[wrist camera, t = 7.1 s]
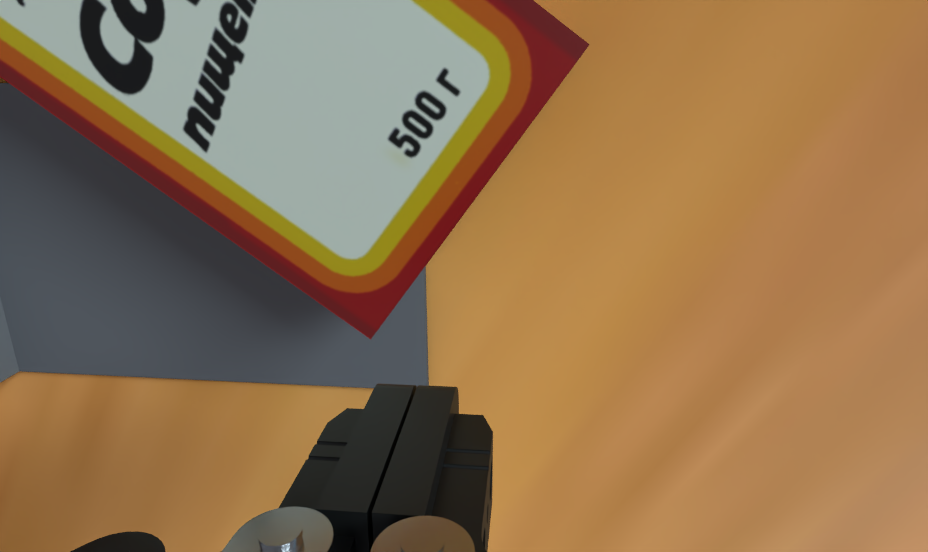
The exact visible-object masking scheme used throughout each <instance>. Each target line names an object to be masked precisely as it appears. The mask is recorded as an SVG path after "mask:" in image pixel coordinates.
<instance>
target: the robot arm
mask: <svg viewBox="0 0 928 552" xmlns="http://www.w3.org/2000/svg"><path fill="white" fill-rule="evenodd" d="M492 459H493V431H492V430H491V428H490V426H489V425H488V423H487V421H486V419H485V418H484V416H483V415H469V414H459V399H458V388H457V387H445V386H424V385H418V387H417V386H416V385H400V384H379V383H378V384H377V385H376V386H375V388H374V390H373V392H372V394H371V396H370V398H369V400H368V402H367V404H366V406H365V408H364V409H349V408H347V409H346V410H344V411H343V412H342V413H340V414H339V415H338V416H336V417H335V418H334V419H332V420H331V421H330V422H328V423H327V425H326V427H325V428H324V430H323V432H322V433H321V435H320V437H319V439H318V440H317V444H315V446H314V447H313V449H312V451H311V453H310V454H309V459H308V460H306V461H305V463H304V465H303V467H302V468H301V470H300V472H299V474H298V475H297V477H296V479H295V481H294V482H293V484H292V486H291V487H290V489H289V491H288V493H287V494H286V496H285V498H284V500H283V501H282V503H281V505H280V507H279V508H278V509H274V510H271V511H268V512H265V513H263V514H260V515H258V516H256V517H254V518H253V519H251V520H250V521H248V522H247V523H245V524H244V525H243V526H242V527H241V528H240V529H239V530H238V531H237V532H236V533H235V534H234V536H233V537H232V538H231V540H230V541H229V543H228V544H227V545H226V547H225V548H224V549H223V551H221V552H487V549H488V539H489V528H490V518H491V508H492ZM71 552H165V547H164V545H163V543H162V542H161V541H160V540H159V539H158V538H157V537H155V536H153V535H151V534H148V533H144V532H123V533H117V534H112V535H108V536H105V537H102V538H99V539H97V540H94V541H92V542H90V543H87V544H85V545H83V546H81V547H79V548H77V549H75V550H73V551H71Z"/></svg>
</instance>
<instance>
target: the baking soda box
mask: <svg viewBox="0 0 928 552" xmlns="http://www.w3.org/2000/svg"><path fill="white" fill-rule="evenodd" d="M588 46H589V44H588V43H587V42H586V41H584V40H583V39H582V38H580V37H579V36H578V35H577V34H575V33H574V32H573V31H572V30H570V29H569V28H568V27H566V26H565V25H564V24H563V23H561V22H560V21H559V20H558V19H556V18H555V17H554V16H552V15H551V14H550V13H549V12H547V11H546V10H545V9H543V8H542V7H541V6H540V5H538V4H537V3H536V2H535V1H533V0H0V77H1V78H2V79H4V80H5V81H7V82H8V83H9V84H11V85H12V86H14V87H15V88H17V89H18V90H19V91H21V92H22V93H24V94H25V95H26V96H28V97H29V98H31V99H32V100H33V101H35V102H36V103H38V104H39V105H41V106H42V107H43V108H45V109H46V110H48V111H49V112H50V113H52V114H53V115H55V116H56V117H57V118H59V119H60V120H62V121H63V122H65V123H66V124H67V125H69V126H70V127H72V128H73V129H74V130H76V131H77V132H79V133H80V134H81V135H83V136H84V137H86V138H87V139H88V140H90V141H91V142H93V143H94V144H96V145H97V146H98V147H100V148H101V149H103V150H104V151H105V152H107V153H108V154H110V155H111V156H112V157H114V158H115V159H117V160H118V161H120V162H121V163H122V164H124V165H125V166H127V167H128V168H129V169H131V170H132V171H134V172H135V173H136V174H138V175H139V176H141V177H142V178H144V179H145V180H146V181H148V182H149V183H151V184H152V185H153V186H155V187H156V188H158V189H159V190H160V191H162V192H163V193H165V194H166V195H168V196H169V197H170V198H172V199H173V200H175V201H176V202H177V203H179V204H180V205H182V206H183V207H184V208H186V209H187V210H189V211H190V212H192V213H193V214H194V215H196V216H197V217H199V218H200V219H201V220H203V221H204V222H206V223H207V224H208V225H210V226H211V227H213V228H214V229H215V230H217V231H218V232H220V233H221V234H223V235H224V236H225V237H227V238H228V239H230V240H231V241H232V242H234V243H235V244H237V245H238V246H239V247H241V248H242V249H244V250H245V251H247V252H248V253H249V254H251V255H252V256H254V257H255V258H256V259H258V260H259V261H261V262H262V263H263V264H265V265H266V266H268V267H269V268H271V269H272V270H273V271H275V272H276V273H278V274H279V275H280V276H282V277H283V278H285V279H286V280H287V281H289V282H290V283H292V284H293V285H295V286H296V287H297V288H299V289H300V290H302V291H303V292H304V293H306V294H307V295H309V296H310V297H311V298H313V299H314V300H316V301H317V302H319V303H320V304H321V305H323V306H324V307H326V308H327V309H328V310H330V311H331V312H333V313H334V314H335V315H337V316H338V317H340V318H341V319H342V320H344V321H345V322H347V323H348V324H350V325H351V326H352V327H354V328H355V329H357V330H358V331H359V332H361V333H362V334H364V335H365V336H366V337H368V338H369V339H372V337H373V336H374V335H375V333H376V332H377V331H378V329H379V328H380V327H381V325H382V324H383V322H384V321H385V320H386V318H387V317H388V316H389V314H390V313H391V312H392V310H393V309H394V308H395V306H396V305H397V304H398V302H399V301H400V300H401V298H402V297H403V295H404V294H405V293H406V291H407V290H408V289H409V287H410V286H411V285H412V283H413V282H414V281H415V279H416V278H417V277H418V275H419V274H420V273H421V271H422V270H423V269H424V267H425V266H426V264H427V263H428V262H429V260H430V259H431V258H432V256H433V255H434V254H435V252H436V251H437V250H438V248H439V247H440V246H441V244H442V243H443V242H444V240H445V239H446V237H447V236H448V235H449V233H450V232H451V231H452V229H453V228H454V227H455V225H456V224H457V223H458V221H459V220H460V219H461V217H462V216H463V215H464V213H465V212H466V210H467V209H468V208H469V206H470V205H471V204H472V202H473V201H474V200H475V198H476V197H477V196H478V194H479V193H480V192H481V190H482V189H483V188H484V186H485V185H486V184H487V182H488V181H489V179H490V178H491V177H492V175H493V174H494V173H495V171H496V170H497V169H498V167H499V166H500V165H501V163H502V162H503V161H504V159H505V158H506V157H507V155H508V154H509V152H510V151H511V150H512V148H513V147H514V146H515V144H516V143H517V142H518V140H519V139H520V138H521V136H522V135H523V134H524V132H525V131H526V130H527V128H528V127H529V125H530V124H531V123H532V121H533V120H534V119H535V117H536V116H537V115H538V113H539V112H540V111H541V109H542V108H543V107H544V105H545V104H546V103H547V101H548V100H549V99H550V97H551V96H552V94H553V93H554V92H555V90H556V89H557V88H558V86H559V85H560V84H561V82H562V81H563V80H564V78H565V77H566V76H567V74H568V73H569V72H570V70H571V69H572V67H573V66H574V65H575V63H576V62H577V61H578V59H579V58H580V57H581V55H582V54H583V53H584V51H585V50H586V49H587V47H588Z"/></svg>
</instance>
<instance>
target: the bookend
mask: <svg viewBox="0 0 928 552" xmlns="http://www.w3.org/2000/svg"><path fill="white" fill-rule="evenodd" d="M19 371H26V372H47V373H68V374H89V375H110V376H131V377H152V378H173V379H193V380H214V381H235V382H256V383H277V384H298V385H319V386H340V387H361V388H375V386H376V385H377V384H378V383H379V384H400V385H416V386H417V387H418V385H424V386H429V382H428V344H427V306H426V269H425V267H424V269H423V270H422V271H421V273H420V274H419V275H418V277H417V278H416V279H415V281H414V282H413V283H412V285H411V286H410V287H409V289H408V290H407V291H406V293H405V294H404V295H403V297H402V298H401V300H400V301H399V302H398V304H397V305H396V306H395V308H394V309H393V310H392V312H391V313H390V314H389V316H388V317H387V318H386V320H385V321H384V322H383V324H382V325H381V327H380V328H379V329H378V331H377V332H376V333H375V335H374V336H373V337H372V339H369V338H368V337H366V336H365V335H364V334H362V333H361V332H359V331H358V330H357V329H355V328H354V327H352V326H351V325H350V324H348V323H347V322H345V321H344V320H342V319H341V318H340V317H338V316H337V315H335V314H334V313H333V312H331V311H330V310H328V309H327V308H326V307H324V306H323V305H321V304H320V303H319V302H317V301H316V300H314V299H313V298H311V297H310V296H309V295H307V294H306V293H304V292H303V291H302V290H300V289H299V288H297V287H296V286H295V285H293V284H292V283H290V282H289V281H287V280H286V279H285V278H283V277H282V276H280V275H279V274H278V273H276V272H275V271H273V270H272V269H271V268H269V267H268V266H266V265H265V264H263V263H262V262H261V261H259V260H258V259H256V258H255V257H254V256H252V255H251V254H249V253H248V252H247V251H245V250H244V249H242V248H241V247H239V246H238V245H237V244H235V243H234V242H232V241H231V240H230V239H228V238H227V237H225V236H224V235H223V234H221V233H220V232H218V231H217V230H215V229H214V228H213V227H211V226H210V225H208V224H207V223H206V222H204V221H203V220H201V219H200V218H199V217H197V216H196V215H194V214H193V213H192V212H190V211H189V210H187V209H186V208H184V207H183V206H182V205H180V204H179V203H177V202H176V201H175V200H173V199H172V198H170V197H169V196H168V195H166V194H165V193H163V192H162V191H160V190H159V189H158V188H156V187H155V186H153V185H152V184H151V183H149V182H148V181H146V180H145V179H144V178H142V177H141V176H139V175H138V174H136V173H135V172H134V171H132V170H131V169H129V168H128V167H127V166H125V165H124V164H122V163H121V162H120V161H118V160H117V159H115V158H114V157H112V156H111V155H110V154H108V153H107V152H105V151H104V150H103V149H101V148H100V147H98V146H97V145H96V144H94V143H93V142H91V141H90V140H88V139H87V138H86V137H84V136H83V135H81V134H80V133H79V132H77V131H76V130H74V129H73V128H72V127H70V126H69V125H67V124H66V123H65V122H63V121H62V120H60V119H59V118H57V117H56V116H55V115H53V114H52V113H50V112H49V111H48V110H46V109H45V108H43V107H42V106H41V105H39V104H38V103H36V102H35V101H33V100H32V99H31V98H29V97H28V96H26V95H25V94H24V93H22V92H21V91H19V90H18V89H17V88H15V87H14V86H12V85H11V84H9V83H0V382H2V381H4V380H5V379H7V378H9V377H10V376H12V375H14V374H15V373H17V372H19Z"/></svg>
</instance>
